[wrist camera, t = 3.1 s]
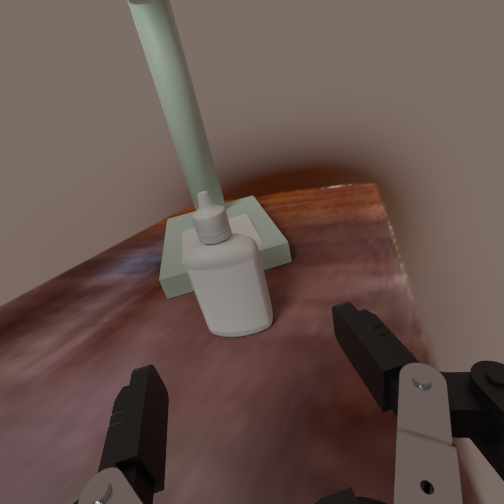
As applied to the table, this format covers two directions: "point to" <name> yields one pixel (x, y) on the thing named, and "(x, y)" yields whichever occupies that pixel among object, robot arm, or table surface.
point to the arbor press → (193, 152)
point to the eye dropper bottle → (227, 274)
